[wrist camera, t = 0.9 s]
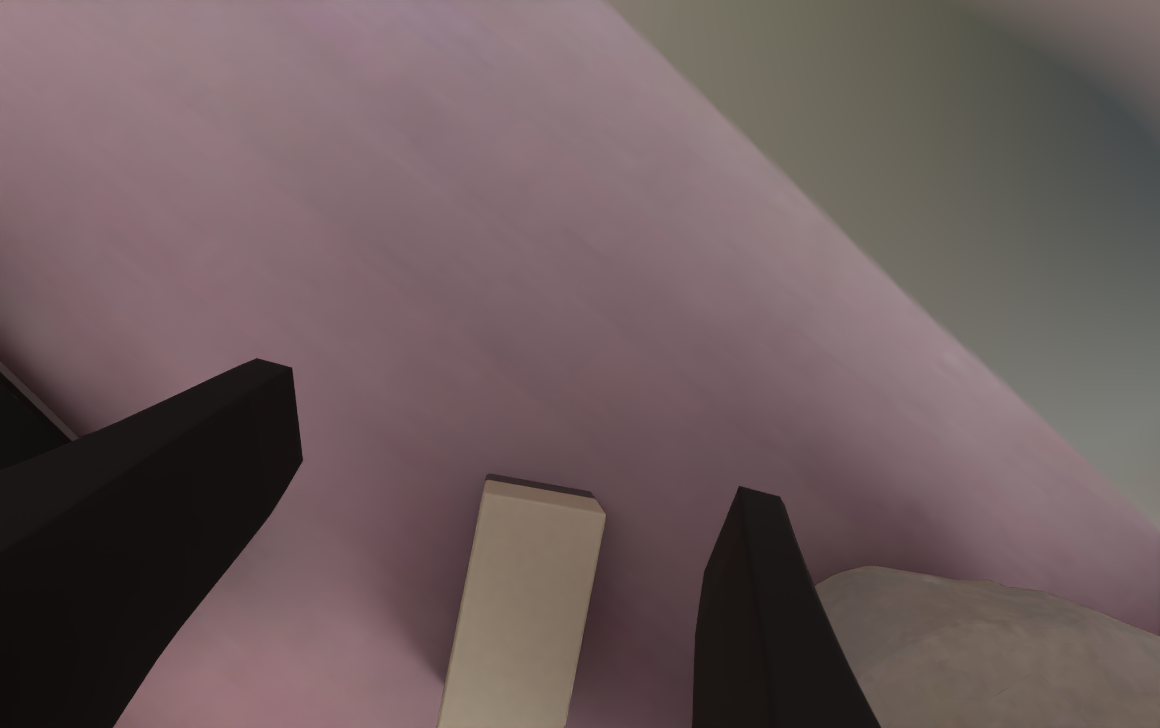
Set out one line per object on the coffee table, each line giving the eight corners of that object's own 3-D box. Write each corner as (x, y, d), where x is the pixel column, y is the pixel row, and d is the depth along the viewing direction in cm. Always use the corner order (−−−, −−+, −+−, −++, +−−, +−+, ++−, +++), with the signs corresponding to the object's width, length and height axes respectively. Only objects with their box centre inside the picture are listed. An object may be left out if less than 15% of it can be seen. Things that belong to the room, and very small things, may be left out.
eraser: (591, 491, 23) (607, 514, 19) (550, 702, 23) (559, 763, 19) (486, 472, 22) (482, 492, 19) (444, 687, 22) (432, 746, 19)
